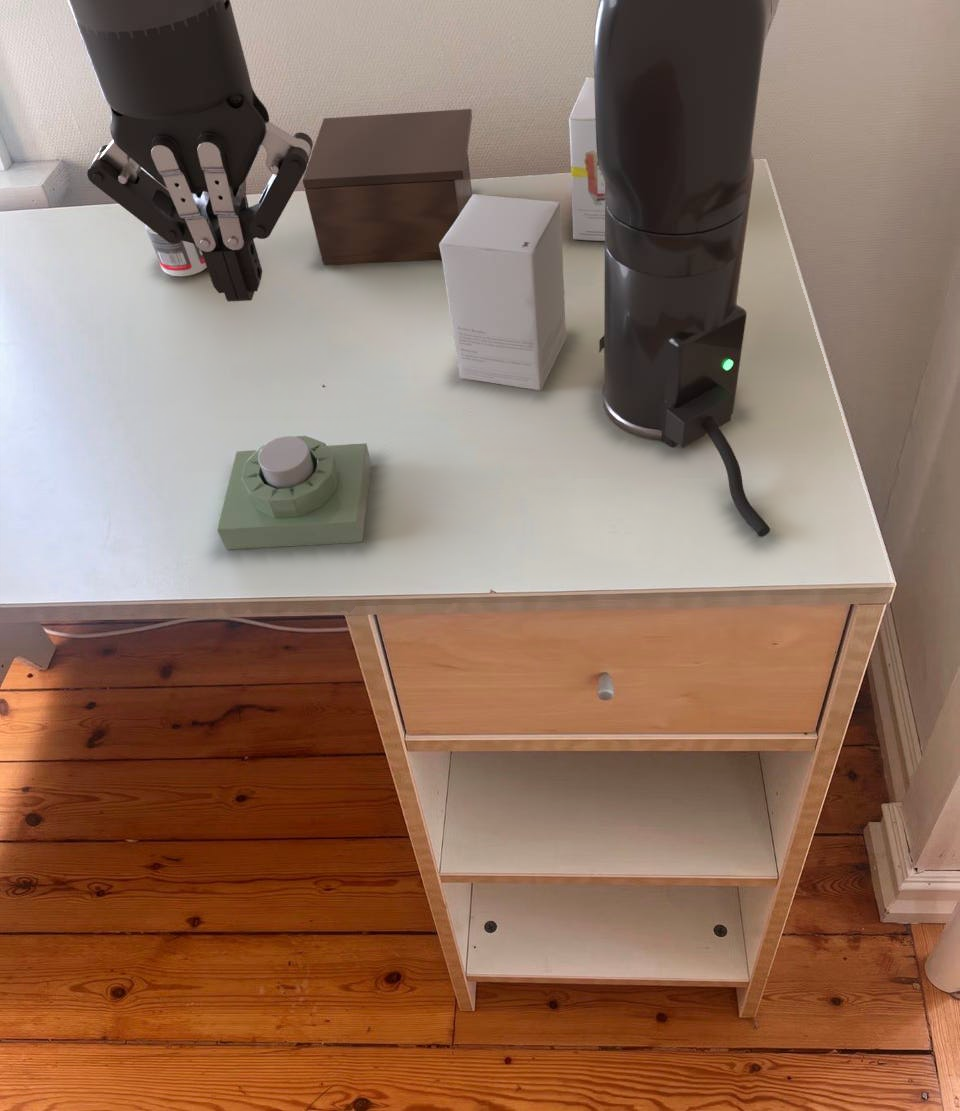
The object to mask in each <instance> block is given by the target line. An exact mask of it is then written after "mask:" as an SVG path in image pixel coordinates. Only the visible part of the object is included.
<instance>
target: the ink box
mask: <svg viewBox="0 0 960 1111" xmlns="http://www.w3.org/2000/svg"><path fill="white" fill-rule="evenodd" d="M568 125H569V147H570V149H569V150H570V170H571V171H570V172H571V176H570V177H571V206H572V209H571V211H572V213H571V214H572V239H573V240H582V241H595V242H596V241H597V242H598V241H599V242H605V180H604V178H603V176H602V173H601V170H600V168H599V164H598V159H597V147H596V122H595V91H594V76H586V78H585V81H584V83H583V84H582V88H581V89H580V92H579V94H578V97H577V99H576V101H575V103H574V106H573V108H572V110H571V113H570V115H569V117H568Z"/></svg>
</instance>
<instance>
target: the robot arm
mask: <svg viewBox="0 0 960 1111" xmlns="http://www.w3.org/2000/svg"><path fill="white" fill-rule="evenodd" d="M67 2H68V5H69V6H70V11H71V13H72V15H73V18H74V21H75V24H76V27H77V29H78V32H79V34H80V38H81V39H82V42H83V44H84V47H85V50H86V53H87V55H88V58H89V61H90V63H91V66H92V69H93V72H94V74H95V77H96V80H97V82H98V86H99V87H100V90H101V93H102V96H103V98H104V100H105V102H106V103H107V105H108V107H109V109H110V114H111V119H110V125H109V132H110V136H111V138H112V140H111V142H109V144H104V145H102V146H101V147H100V148H99V150H98V151H97V154H96V155H95V157H94V159H93V161H92V162H91V164H90V166H89V167H88V169H87V172H86V173H87V174H86V175H87V178H88V180H89V181H90V183H91V184H92V185H94V186H95V187H96V188H98V189H99V190H100V191H102V192H103V193H104V194H105V195H107V196H108V197H109V198H111V199H112V200H113V201H114V202H116V203H117V204H119V205H120V206H121V208H123V209H125V210H126V211H127V212H129V213H130V214H131V215H133V217H135V218H137V220H139V221H140V222H141V223H143V225H144V224H145V225H147V226H148V227H149V228H151V229H152V230H153V231H154V232H156V233H157V234H158V235H160V236H161V237H162V238H163V239H165V240H166V241H167V242H169V243H173V244H176V243H179V242H180V241H181V240H182V241H186V242H190V243H193V244H194V245H196V246H197V247H198V248H199V249H200V250H201V252H202V254H203V257H204V260H205V263H206V266H207V268H206V269H207V272H208V275H209V277H210V281H211V284H212V286H213V288H214V289H215V290H216V292H217V293H218V294H224V296H225V300H226V301H227V302H228V303H230V302H231V303H232V302H247V301H248V302H249V301H252V300H253V297H254V295H255V292H258V290H259V288H260V284H261V280H262V277H263V268H262V264H261V261H260V258H259V254H258V251H257V250H258V249H257V248H256V244H255V241H254V239H259V240H265V239H267V238H269V237H270V236H271V234H272V232H273V231H274V229H275V227H276V225H277V223H278V221H279V219H280V217H281V216H282V215H283V212H284V210H285V209H286V206H287V205H288V203H289V201H290V199H291V198H292V196H293V194H294V192H295V190H296V188H297V186H298V185H299V183H300V181H301V180H302V179H303V177H304V174H305V171H306V168H307V165H308V162H309V159H310V157H311V154H312V151H313V148H314V142H313V140H312V138H311V136H310V135H308V134H307V133H305V132H296V133H294V134H293V135H292V134H290V133H289V132H287V131H285V130H283V129H282V128H280V127H278V126H277V125H275V124H273V123H272V122H270V115H269V112H268V109H267V108H266V105H265V104H264V103H263V102H262V101H261V100H260V99H259V97H258V96H257V94H256V92H255V90H254V88H253V86H252V82H251V78H250V72H249V70H248V65H247V60H246V57H245V54H244V50H243V47H242V42H241V38H240V35H239V31H238V30H239V29H238V27H237V23H236V19H235V15H234V11H233V6H232V4H231V0H67ZM779 2H780V0H599V1H598V5H597V8H596V14H595V23H594V36H593V77H594V91H595V122H596V147H597V159H598V164H599V168H600V170H601V173H602V176H603V178H604V180H605V241H604V294H603V295H604V296H603V297H604V305H603V306H604V307H603V308H604V309H603V310H604V312H603V314H604V316H603V317H604V318H603V319H604V320H603V325H604V327H603V328H604V329H603V335H602V337H601V338H600V339H599V341H598V342H599V343H598V344H599V346H598V348H599V350H598V351H599V353H601V351H604V352H603V364H604V366H603V368H604V369H603V370H604V374H603V377H604V378H603V379H604V380H603V385H602V405H603V408H604V411H605V414H606V416H607V417H608V418H609V420H610V421H611V422H612V423H613V424H614V425H615V426H617V427H618V428H619V429H621V430H623V431H624V432H626V433H628V434H631V435H633V436H635V437H639V438H641V439H647V440H653V441H659V442H660V441H661V442H662V443H664V444H665V445H667V446H668V447H670V448H676V447H677V446H678V447H680V448H682V449H684V448H685V447H687V446H689V445H690V444H692V443H694V442H695V441H698V440H699V439H701V438H703V437H704V436H706V435H708V437H709V439H710V440H711V441H712V443H713V445H714V447H715V449H716V450H717V452H718V453H719V456H720V457H721V460H722V462H723V464H724V468H725V470H726V474H727V479H728V486H729V493H730V496H731V499H732V501H733V503H734V505H735V507H736V509H737V511H738V512H739V514H740V516H741V517H742V518H743V519H744V521H745V522H746V523H747V524H748V526H750V528H751V529H752V530H753V531H754V532H755V533H756V535H757V536H758V537H759V538H760V537H761V538H762V537H765V536H767V535H768V534H769V533H770V532H771V528H770V526H769V525H768V523H766V521H765V520H764V519H763V518H762V517H761V515H760V514H758V512H757V511H756V509H755V508H754V507H753V506H752V505H751V504H750V502H749V500H748V498H747V496H746V493H745V489H744V485H743V476H742V471H741V467H740V465H739V461H738V459H737V457H736V454H735V452H734V450H733V449H732V447H731V444H730V442H729V441H728V440H727V438H726V436H725V434H724V433H723V431H722V430H721V429H720V427H722V426H724V425H726V424H728V423H729V422H731V420H732V415H733V414H734V409H735V401H736V392H737V387H738V379H739V372H740V365H741V359H742V358H741V357H742V351H743V345H744V344H743V343H744V336H745V329H746V322H747V311H746V309H744V308H743V307H741V306H740V305H738V296H739V295H738V294H739V289H740V280H741V271H742V264H743V257H744V249H745V241H746V234H747V225H748V220H749V211H750V203H751V196H752V189H753V188H752V187H753V179H754V173H755V160H754V156H753V153H752V150H753V137H754V129H755V122H756V121H755V120H756V111H757V106H758V104H757V103H758V96H759V87H760V80H761V73H762V72H761V70H762V64H763V57H764V49H765V44H766V41H767V37H768V35H769V32H770V29H771V27H772V24H773V22H774V19H775V16H776V14H777V13H776V12H777V9H778V6H779ZM261 146H262V147H263V148H264V149H265V152H266V159H265V165H266V167H267V169H268V170H269V171H270V173H271V174H272V175H271V176H270V179H269V180H268V183H267V184H266V186H265V188H264V190H263V192H262V194H261V195H260V198H259V199H258V201H257V203H256V204H253V205H251V206H249V202H248V197H247V177H248V175H249V173H250V171H251V169H252V166H253V165H254V163H255V160H256V157H257V155H258V153H259V151H260V148H261ZM141 167H142V168H143V169H144V170H145V171H146V172H148V173H149V174H150V175H151V176H152V177H153V178H155V179H156V180H157V181H158V182H159V183H160V184H159V183H158V182H157V181H156V180H154V179H153V178H152V177H151V176H150V175H148V174H147V173H146V172H145V171H143V170H142V169H141ZM161 184H162V185H163V186H164V187H166V188H167V189H168V190H167V189H166V188H164V187H163V186H162V185H161ZM145 225H144V226H145Z"/></svg>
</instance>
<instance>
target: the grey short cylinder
mask: <svg viewBox="0 0 960 1111" xmlns="http://www.w3.org/2000/svg"><path fill="white" fill-rule="evenodd" d="M264 445H265V446H264V447H263V448H262V449H261V451H260V453H259V456H258V461H259V464H260V467H261V470H262V473H263V475H264V478H265V480H266V482H267V483H268V484H269V485H271V486H273V487H275V488H280V489H283V488H293V487H295V486H297V485H299V484H302V483H304V482H305V481H307V480H308V479H309V478H310V476H311V475H312V473H313V470H314V464H313V461H312V457H311V454H310V451H309V448H308V445H307V444H306V442H304V441H303V440H302V439H300V438H297V437H295V436H290V435H288V436H287V435H286V436H281V437H276V438H274V439H272V440H270V441H269V442H267V443H266V444H264Z"/></svg>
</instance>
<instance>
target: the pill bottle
mask: <svg viewBox="0 0 960 1111" xmlns="http://www.w3.org/2000/svg"><path fill="white" fill-rule="evenodd" d="M141 169H142V170H143V171H145V170H144V169H143V168H142V167H141ZM145 172H146V171H145ZM146 173H147V174H148V175H150V174H149V173H148V172H146ZM150 176H151V175H150ZM151 177H152V176H151ZM152 178H153V177H152ZM153 179H154V180H156V179H155V178H153ZM156 181H157V180H156ZM157 182H158V181H157ZM158 183H159V182H158ZM159 184H160V183H159ZM161 185H162V184H161ZM162 186H163V185H162ZM163 187H164V186H163ZM164 188H166V187H164ZM166 189H167V188H166ZM167 190H168V189H167ZM143 226H144V227H145V230H146V232H147V235H148V238H149V240H150V242H151V245H152V248H153V250H154V252H155V255H156V258H157V260H158V263H159V265H160V268H161V270H162V271H163V272H164V273H165V274H168V275H169V276H173V277H189V276H194V275H196V274H199V273H201V272H203V271H204V270H206V269H207V266H206V263H205V260H204V257H203V254H202V252H201V250H200V249H199V248H198V247H197V246H196V245H194V244H193V243H190V242H186V241H182V240H181V241H180V242H179V243H176V244H173V243H169V242H167V241H166V240H165V239H163V238H162V237H161V236H160V235H158V234H157V233H156V232H154V231H153V230H152V229H151V228H149V227H148V226H147V225H145V224H144V223H143Z"/></svg>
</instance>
